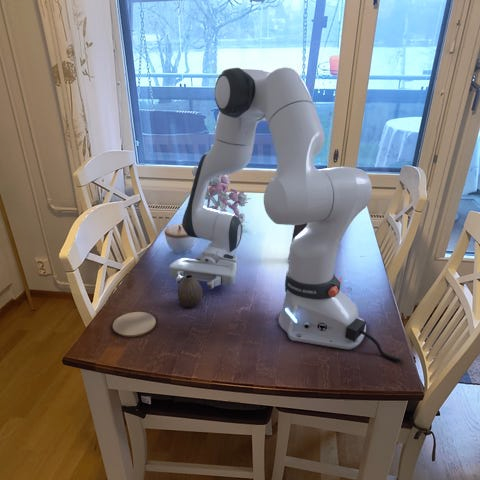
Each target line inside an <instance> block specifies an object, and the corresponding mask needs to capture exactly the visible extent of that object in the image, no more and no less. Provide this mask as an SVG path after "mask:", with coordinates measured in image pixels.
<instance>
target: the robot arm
mask: <svg viewBox="0 0 480 480" xmlns="http://www.w3.org/2000/svg"><path fill="white" fill-rule="evenodd" d="M214 86H215V87H214V100H215V104H216V106H217V108H218V115H217V118H216V124H215V129H214V130H215V131H214V139H213V143H212V147H211V148H210V150H209V151H208V152H205V153H204V154H203V155H202V156H201V157H200V160H199V162H198V165H197V171H196V175H195V176H194V178H193V182H192V186H191V190H190V194H189V199H188V202H187V205H186V208H185V210H184V213H183V217H182V221H181V224H182V227H183V229H184V230H185V232H186V233H187V235H188V236H189V237H195V238H196V239H202V240H205V241H210V242H209V244H208V245H207V247H205V248H204V249H203V250H202V251H201V252H200V253H199V254H198V256H197V257H196V258H189V257H181V258H178V259H176V260H175V261H173V262H172V263H171V264H170V265H169V266H168V267H169V276H170V277H171V278H173V279H174V278H176V279H175V280H176V281H175V282H176V284H177V285H179V284H180V283H181V282H182V280H183V279H184V277H185V275H193V277H194V278H195V279H196V280H197V281H198V282H201V283H206V285H207V287H206V288H207V289H212V290H213V289H214V288H215V287H217V286H221V285H223V286H228V287H231V286H234V285H235V284H236V282H237V280H238V275H239V274H238V273H239V263H238V257H236V256H235V255H236V253H237V249H238V247H239V245H240V244H241V241H242V235H243V223H242V224H241V222H240V220H239V218H238V217H237V215H235V213H231V212H228V211H227V212H223V211H221V210H219V209H218V210H219V211H218V210H214V209H210V208H207V205H205V200H206V199H205V197H206V193H207V189H208V190H209V187H210V186H209V182H210V180H211V179H212V178H213V177H214V178H215V176H220V175H225V176H227V175H232V174H234V173H238V172H240V171H242V170H243V169H245V168H246V167H247V166H248V165H249V163H250V161H251V159H252V154H253V151H254V146H255V139H256V129H257V126H258V124H259V123H260V122H262V121H266V124H267V127H268V129H269V133H270V136H271V139H272V142H273V147H274V150H275V153H276V157H277V158H276V160H277V161H276V163H277V164H276V169H275V170H276V171H275V172H274V175H273V176H272V178H271V180H270V181H269V182H268V183H267V185H266V187H265V190H264V193H263V207H264V210H265V213H266V215H267V216H268V218H269V219H270V220H271V221H272V222H273V223H274V224H276V225H283V226H295V225H300V224H306V223H308V224H307V226H306V227H305V228H304V230H303V231H302V232H300V233H299V234H298V235H297V236H296V237H295V238H294V239H293V241H292V240H291V242H292V243H291V242H290V246H289V252H290V253H288V257H289V260H288V268H287V271H286V274H285V279H284V291H285V295H284V300H283V304H282V308H281V311H280V314H279V317H278V319H277V320H278V324H279V326H280V327H281V328H282V330H284V331H285V332H286V334H287V336H288V339H290V341H293V342H299V343H306V344H311V345H319V346H323V347H329V348H336V349H341V350H342V349H343V350H352V349H354V348H356V347H358V346H359V345H360V344H361V343H362V342H363V340H364V338H365V337H366V338H367V339H369V340H370V341H372V342H373V344H375V346H376V347H377V350H378V352H379V353H380V354H381V355H382V356H383V357H385V358H387V359H390V360H393V361H396V362H399V363H400V362H401V361H402V358H399V357H397V356H393V355H391V354H388V353H386V352H385V351H384V350H383V349H382V347H381V345H380V343H379V341H378V340H377V339H376V338H375V337H373V336H372V335H370V334H369V333H368V332H367V323H366V321H365V320H364V319H363V318H361V317H359V309H358V306H357V304H356V303H355V302H354V301H353V300H351V298H350V297H348V296H347V295H346V294H345V293H344V292H343V291H342V290H341V285H342V284H341V283H342V279H343V277H342V276H340V278H339V279H338V277H337V276H336V275H335V274H334V273H335V267H336V261H337V255H338V251H339V247H340V244H341V242H342V239H343V238H344V236H345V234H346V232H347V230H348V228H349V227H350V226H351V224H352V222H353V221H354V219H355V218H356V217H357V216H358V215H359V214H361V212H362V211H363V210H364V209H366V208H367V207H368V205H369V203H370V201H371V198H372V194H373V185H372V181H371V179H370V176H369V174H368V173H367V172H366V171H364V170H363V169H361V168H356V167H349V166H335V167H328V168H322V169H321V168H320V169H318V168H317V167H316V166H315V164H314V158H316V156H317V155H318V154H319V153H320V152H321V151H322V149H323V147H324V144H325V140H326V139H325V138H326V136H325V131H324V129H323V125H322V123H321V120H320V117H319V114H318V112H317V109H316V105H315V103H314V101H313V98H312V95H311V93H310V91H309V90H308V87H307V85H306V83H305V82H304V80H303V79H302V77H301V75H300V74H299V72H297V71H296V70H295V69H293V68H291V67H287V66H286V67H285V66H283V67H278V68H276V69H274V70H272V71H269V70H263V69H259V68H240V67H231V68H227V69H224V70H222V72H221V73H220V74H219V76H218V77H217V79H216V82H215V85H214Z"/></svg>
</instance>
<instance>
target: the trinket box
mask: <svg viewBox="0 0 480 480" xmlns="http://www.w3.org/2000/svg"><path fill="white" fill-rule="evenodd" d="M164 236H165V241H166V244H167V246H168V247H169V249H170V250H171V251H172V252H173V253H175V254H181V255H183V254H188V253H189V252H190V251H191V250H192V249H193V247H194V246H195V243H196V239H197V238H195V237H189V236H188V235H187V233H186V232H185V230H184V229H183V227H182V223H177V224H171V225H169V226H167V227H165V228H164Z"/></svg>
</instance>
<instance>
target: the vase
mask: <svg viewBox="0 0 480 480" xmlns="http://www.w3.org/2000/svg"><path fill="white" fill-rule="evenodd" d="M176 292H177V298H178V301H179V303H180V304H181V305H182V306H183V307H184V308H185V307H186V308H188V309H192V308H195V307H198V305H200V303H201V302H202V299H203V287H202V286H201V283H200V281H197V280H196V279H195V278H194V277H193V275H185V277H184V279H183V280H182V282H181V283H180V284H178V287H177V291H176Z"/></svg>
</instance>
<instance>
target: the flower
mask: <svg viewBox="0 0 480 480" xmlns="http://www.w3.org/2000/svg"><path fill="white" fill-rule="evenodd" d="M197 168H198V166H197V164H196V163H194V167H193V169H192V170H191V173H192V176H194V177H195V175H196V171H197ZM230 184H231V180H230V174H226V175H220V176H215V177H213V178H212V179H211V180H210V182H209V186H208V189H207V193H206V196H205V200H207V204H206V207H207V208H210V209H214V210H218V211H223V212H227V213H228V211H227V207H228V208H229V209H231V210H232V211H233V214H234V215H237V217H238V218H239V220H240V222H241V224H242V225H243V224H245V223H246V224H247V223H248V222H247V221H245V219H246V216H245V214H244V213H243V212H240V209H239V208H238V205H239V207H245V206H246V204H248V203H249V202H248V200H251V199H252V198H251V197H250V198H249V197H248V194H245V193H246V192H247V191H246V190H241V191H239V192H238V190H237V189H236V188H235V187H231V188H230V189H229V187H228V185H230ZM228 190H229V191H230V193H229V194H228V193H227V192H228ZM214 196H217V200H216V198H215V197H214ZM230 200H231V201H232V202H233V203H231V202H230ZM211 201H212V204H213V205H210V203H211ZM218 208H220V210H219V209H218Z"/></svg>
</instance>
